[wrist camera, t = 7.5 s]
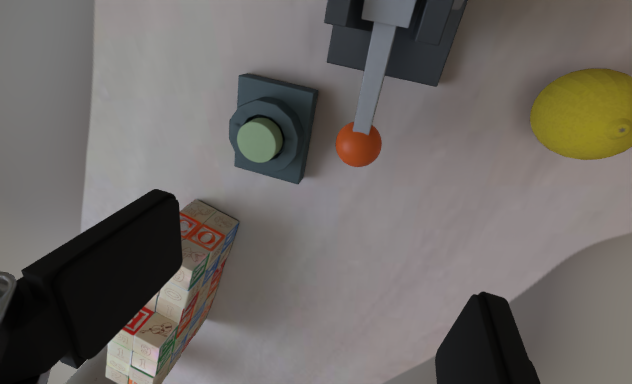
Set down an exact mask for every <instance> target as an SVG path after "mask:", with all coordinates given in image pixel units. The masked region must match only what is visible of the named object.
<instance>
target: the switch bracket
mask: <svg viewBox="0 0 632 384" xmlns="http://www.w3.org/2000/svg"><path fill="white" fill-rule="evenodd" d="M467 1H468V0H417V1H416V4H415V8H414V11H413V15H412V18H411V21H410V25H409V28H405V27H400V26H397V30H396V34H395V38H394V41H393V45H392V49H391V53H390V57H389V61H388V64H387V68H386V72H385V76H390V77H394V78H399V79H403V80H408V81H412V82H417V83H421V84H426V85H430V86H435V87H437V85H438V82H439V79H440V76H441V73H442V71H443V68H444V65H445V62H446V60H447V57H448V54H449V51H450V48H451V46H452V43H453V40H454V37H455V34H456V32H457V29H458V26H459V23H460V20H461V18H462V15H463V12H464V9H465V6H466V4H467ZM363 5H364V0H328V2H327V8H326V14H325V20H324V23H327V24H332V25H333V30H332V35H331V41H330V47H329V52H328V58H327V63H331V64H336V65H340V66H345V67H349V68H354V69H358V70H363V71H365V66H366V61H367V56H368V51H369V46H370V41H371V36H372V31H373V26H374V21H369V20H364V19H362V18H361V17H362V11H363Z"/></svg>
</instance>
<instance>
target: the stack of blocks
mask: <svg viewBox="0 0 632 384" xmlns="http://www.w3.org/2000/svg"><path fill="white" fill-rule="evenodd" d="M238 225H239V222H238V221H237V220H235V219H233V218H231V217H229V216H227V215H225V214H223V213H221V212H219V211H217V210H216V209H214V208H212V207H210V206H208V205H206V204H204V203H202V202H200V201H198V200H194V201H193V202H191V203H190V204H189V205H187V206H186V207H185V208H184V209H182V210H181V211H180V227H181V242H182V257H183V262H182V265H181V268H180V269H179V271H178V272H177V273H176V274H175V275H174V276H173V277H172V278H171V279H170V280H169V281H168V282H167V283H166V284H165V285H164V286H163V287H162V288H161V289H160V290H159V291H158V293H157V294H156V295H155V296H154V297H153V298H152V299H151V300H150V301H149V302H148V303H147V304H146V305H145V306H144V307H143V308H142V309H141V310H140V311H139V312H138V313H137V314H136V315H135V316H134V317H133V318H132V319H131V320H130V321H129V322H128V323H127V325H126V326H125V327H124V328H123V329H122V330H121V331H120V332H119V333H118V334H117V335H116V336H115V337H114V338H113V339H112V340H111V341H110V342H109V343H108V349H107V351H108V352H107V365H106V375H105V376H106V377H107V378H109V379H111V380H113V381H114V382H116V383H118V384H161V383H162V382H163V380H164V379H165V377H166V376H167V375H168V373H169V372H170V371H171V369H172V368H173V366H174V365H175V363H176V362H177V361H178V359H179V358H180V356H181V354H182V352H183V351H184V349H185V348H186V347H187V345H188V344H189V342H190V341H191V339H192V338H193V336H195V335H196V333H197V332H198V330H199V328H200V327H201V325H202V324H203V322H204V321H205V319H206V317H207V314H208V311H209V309H210V307H211V304H212V301H213V298H214V296H215V293H216V290H217V287H218V282H219V279H220V276H221V273H222V269H223V266H224V263H225V260H226V258H227V256H228V254H229V251H230V249H231V246H232V243H233V239H234V236H235V234H236V231H237V228H238Z"/></svg>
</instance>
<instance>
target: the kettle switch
mask: <svg viewBox="0 0 632 384" xmlns="http://www.w3.org/2000/svg"><path fill="white" fill-rule="evenodd" d="M416 1H417V0H364V5H363V11H362V17H361V18H362V19H364V20H369V21H374V26H373V31H372V36H371V41H370V46H369V51H368V56H367V61H366V66H365V71H364V76H363V81H362V86H361V91H360V96H359V101H358V106H357V111H356V116H355V121H354V122H351V123H349V124H347V125H345V126H344V127H343V128H342V129H341V130H340V132H339V133H338V136H337V139H336V150H337V153H338V155H339V157H340V158H341V160H342V161H343V162H345V163H346V164H348V165H350V166H354V167H363V166H366V165H369V164H370V163H372V162H373V161H374V160H375V159H376V158H377V157H378V155H379V153H380V151H381V146H382V141H381V136H380V134H379V132H378V130H377V129H376V128H375V127H374V126H373V125H372V122H373V118H374V114H375V111H376V107H377V103H378V99H379V95H380V91H381V88H382V84H383V80H384V76H385V72H386V68H387V64H388V61H389V57H390V53H391V49H392V45H393V41H394V38H395V34H396V30H397V26H400V27H405V28H409V25H410V21H411V18H412V15H413V11H414V8H415V4H416Z"/></svg>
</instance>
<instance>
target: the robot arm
mask: <svg viewBox="0 0 632 384" xmlns="http://www.w3.org/2000/svg"><path fill="white" fill-rule="evenodd" d="M182 262H183V257H182V242H181V227H180V212H179V202H178V200H176V198H175V196H174V195H173V194H171V193H168V192H165V191H162V190H159V189H154V190H152V191H150V192H148V193H147V194H145V195H144V196H142V197H140V198H139V199H137V200H135V201H134V202H132V203H130V204H129V205H127V206H126V207H124V208H122V209H121V210H119V211H117V212H116V213H114V214H113V215H111V216H109V217H108V218H106V219H104V220H103V221H101V222H99V223H98V224H96V225H95V226H93V227H91V228H90V229H88V230H86V231H85V232H83V233H81V234H80V235H78V236H77V237H75V238H73V239H72V240H70V241H69V242H67V243H65V244H64V245H62V246H60V247H59V248H57V249H55V250H54V251H52V252H51V253H49V254H47V255H46V256H44V257H42V258H41V259H39V260H37V261H36V262H34V263H33V264H31V265H30V266H28V267H26V268H24V269H23V270H22V274H23V277H22V278H20V279H18V280H17V281H16V279H15V277H14V276H13V275H11V274H9V273H7V272H0V384H47V382H48V378H49V374H50V370H51V368H52V367H53V366H54V365H55V364H56V363H57V362H58V361H59V360H60V361H61V362H62V363H64V364H67V365H69V366H71V367H74V368H76V369H78V368H79V367H80V366H81V365H82V364H83V363H84V362H85V361H86V360H87V359H88V360H89V359H92V358H94V357H95V356H96V355H97V354H98V353H99V352H100V351H101V350H102V349H103V348H104V347H105V346H106V345H107V344H108V343H109V342H110V341H111V340H112V339H113V338H114V337H115V336H116V335H117V334H118V333H119V332H120V331H121V330H122V329H123V328H124V327H125V326H126V325H127V323H128V322H129V321H130V320H131V319H132V318H133V317H134V316H135V315H136V314H137V313H138V312H139V311H140V310H141V309H142V308H143V307H144V306H145V305H146V304H147V303H148V302H149V301H150V300H151V299H152V298H153V297H154V296H155V295H156V294H157V293H158V291H159V290H160V289H161V288H162V287H163V286H164V285H165V284H166V283H167V282H168V281H169V280H170V279H171V278H172V277H173V276H174V275H175V274H176V273H177V272H178V271H179V269H180V268H181V265H182ZM435 365H436V377H437V384H540V381H539V378H538V376H537V373H536V370H535V368H534V366H533V364H532V362H531V361H530V360H529V358H528V356H527V353H526V351H525V348H524V345H523V342H522V339H521V337H520V334H519V331H518V328H517V326H516V323H515V320H514V318H513V315H512V312H511V310H510V307H509V304H508V302H507V300H506V299H505V298H502V297H499V296H496V295H493V294H490V293H486V292H481V293H479V295H475V294H473V295H472V296H471V297H470V299H469V301H468V302H467V304H466V305H465V307H464V308H463V310H462V312H461V313H460V315H459V316H458V318H457V320H456V321H455V323H454V324H453V326H452V328H451V329H450V331H449V332H448V334H447V336H446V337H445V339H444V340H443V342H442V344H441V345H440V347H439V348H438V350H437V353H436V359H435Z"/></svg>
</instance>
